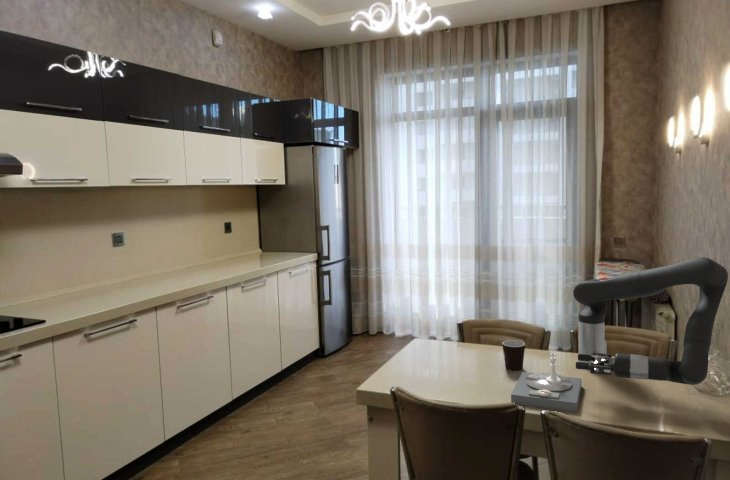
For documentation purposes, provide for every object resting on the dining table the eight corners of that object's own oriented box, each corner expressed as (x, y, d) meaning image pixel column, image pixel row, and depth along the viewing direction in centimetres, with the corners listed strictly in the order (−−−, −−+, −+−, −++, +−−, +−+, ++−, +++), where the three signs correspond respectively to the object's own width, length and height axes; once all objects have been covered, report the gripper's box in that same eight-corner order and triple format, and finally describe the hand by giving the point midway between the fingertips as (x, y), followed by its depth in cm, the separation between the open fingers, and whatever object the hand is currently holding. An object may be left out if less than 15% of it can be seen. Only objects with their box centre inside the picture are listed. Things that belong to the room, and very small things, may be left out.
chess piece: (543, 379, 178) (542, 351, 177) (557, 378, 178) (556, 350, 177) (549, 384, 173) (549, 355, 172) (563, 383, 173) (563, 354, 173)
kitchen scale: (522, 379, 189) (522, 368, 188) (581, 386, 180) (581, 375, 180) (511, 403, 169) (511, 391, 169) (576, 412, 160) (576, 399, 160)
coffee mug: (522, 373, 195) (521, 348, 194) (499, 370, 199) (499, 345, 198) (530, 364, 205) (529, 339, 204) (508, 361, 209) (508, 337, 208)
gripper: (631, 348, 170) (578, 343, 178) (631, 362, 158) (574, 356, 165) (631, 370, 171) (578, 364, 178) (631, 385, 158) (575, 379, 166)
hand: (576, 360), depth 172 cm, fingers open, 8 cm apart
